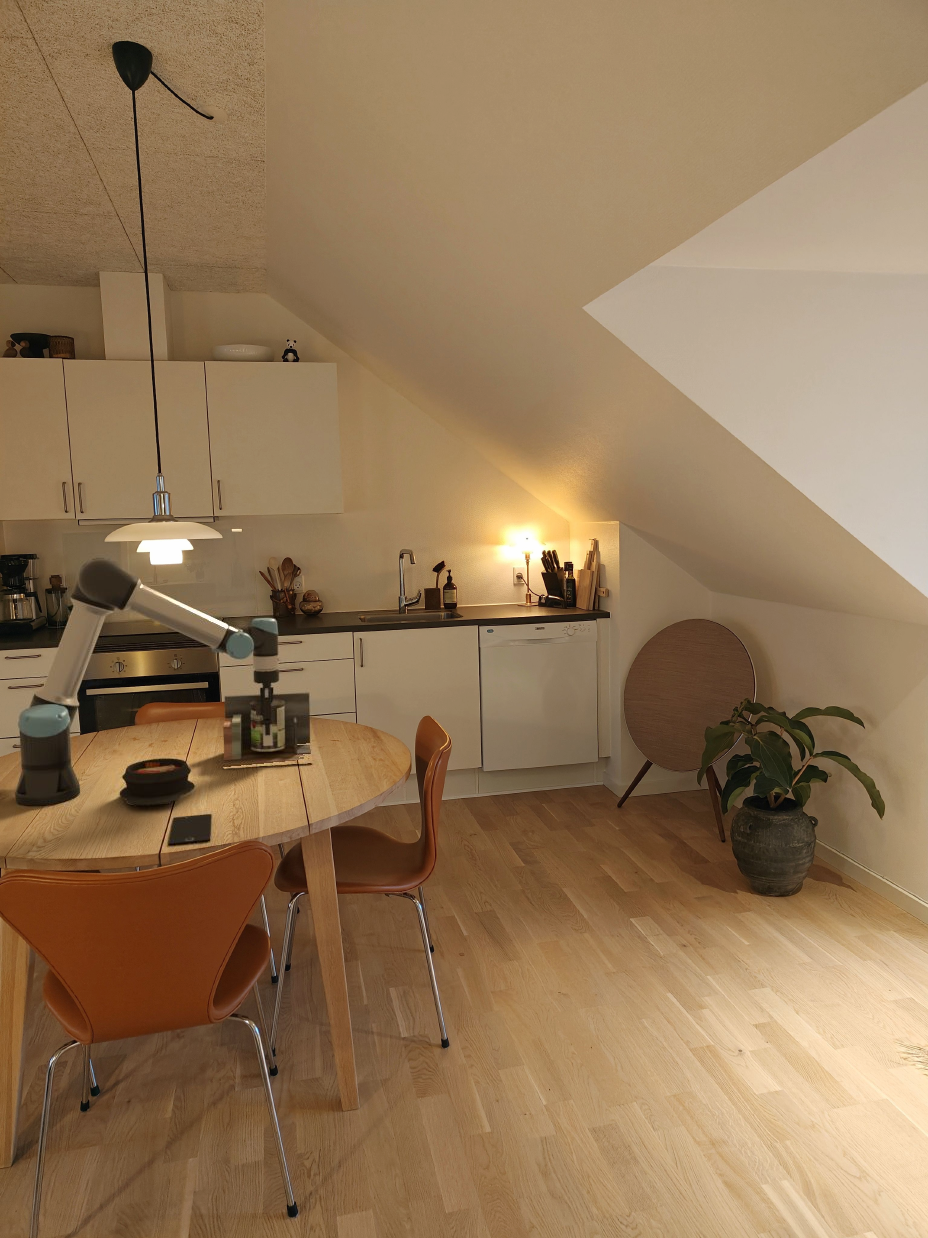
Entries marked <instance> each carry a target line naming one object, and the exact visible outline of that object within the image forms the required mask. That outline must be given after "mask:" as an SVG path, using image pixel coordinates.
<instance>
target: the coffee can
mask: <svg viewBox="0 0 928 1238" xmlns="http://www.w3.org/2000/svg"><path fill="white" fill-rule="evenodd" d="M284 704H285V702H284V701H283V700H278V699H273V702H272V703H271V720H272V738H273V745H272V746H263V725H261V722H263V704H262V703H261V700H256V701H253V702H251V703H250V709H251V749H252V750H254V751H260V752H270V751H277V750H281V749H283V748H285V723H284ZM265 720H270V719H265Z"/></svg>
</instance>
